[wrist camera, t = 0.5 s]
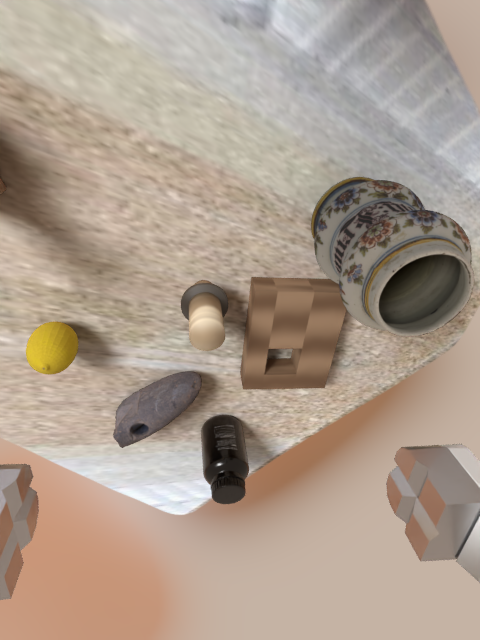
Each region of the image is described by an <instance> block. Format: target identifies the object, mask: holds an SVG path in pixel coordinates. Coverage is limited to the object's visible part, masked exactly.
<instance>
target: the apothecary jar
mask: <svg viewBox="0 0 480 640" xmlns="http://www.w3.org/2000/svg"><path fill="white" fill-rule="evenodd" d="M311 230H312V235H313V238H315V243H314V245H315V255H316V259H317V262H318V264H319V266H320V268H321V269H322V271H323V272H324V273H325V275H326V276H327V277H329V278H330V279H331V280H333V281H334V282H336V283H338V284H339V290H340V295H341V299H342V301H343V304H344V306H345V308H346V309H347V311H348V312H349V313H350V314H351V315H352V316H353V317H354V318H355V319H356V320H357V321H359V322H360V323H362V324H364V325H366V326H368V327H370V328H373V329H377V330H383V331H388V332H390V333H392V334H395V335H398V336H404V337H414V336H420V335H424V334H427V333H430V332H433V331H435V330H437V329H438V328H440V327H442V326H444V325H445V324H446V323H448V322H449V321H451V320H452V319H453V318H454V317H456V316H457V315H458V314H459V313H460V312H461V310H462V309H463V308H464V307H465V305H466V304H467V302H468V301H469V299H470V296H471V293H472V290H473V285H474V273H473V269H472V267H471V259H472V254H471V246H470V242H469V240H468V237H467V235H466V234H465V232H464V230H463V229H462V228H461V227H460V226H459V225H458V224H457V223H456V222H455V221H454V220H452V219H451V218H449V217H447V216H445V215H443V214H440V213H437V212H434V211H428V210H425V209H424V207H423V205H422V203H421V201H420V199H419V198H418V197H417V196H416V195H415V194H414V193H413V192H412V191H411V190H410V189H408V188H407V187H405V186H403V185H401V184H398V183H395V182H391V181H385V180H373V179H370V178H365V177H355V178H349V179H346V180H343V181H341V182H339V183H337V184H336V185H334V186H333V187H331V188H330V189H329V190H328V191H327V192H326V193H325V194H324V195H323V196H322V197H321V199H320V200H319V202H318V203H317V205H316V207H315V209H314V212H313V215H312V221H311Z"/></svg>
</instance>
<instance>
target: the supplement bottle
mask: <svg viewBox="0 0 480 640" xmlns="http://www.w3.org/2000/svg"><path fill="white" fill-rule="evenodd" d="M201 441H202V459H203V474H204V478H205V480H206V481H207V482H208V483H209V484H210V485H211V491H212V498H213V500H214V501H215V502H217V503H221V504H231V503H235V502H238V501H240V500H241V499H242V498H243V497H244V496H245V479H246V477H247V475H248V473H249V465H248V459H247V452H246V446H245V440H244V434H243V428H242V425H241V423H240V421H239V420H238V419H236V418H235V417H232V416H228V415H219V416H215V417H212V418H210V419H209V420H207V421H206V422H205V423H204V425H203V426H202V429H201Z"/></svg>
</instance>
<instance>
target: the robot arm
mask: <svg viewBox="0 0 480 640" xmlns="http://www.w3.org/2000/svg"><path fill="white" fill-rule="evenodd" d="M394 460H395V462H396V463H397V465H398V466H397V467H396V468H395V469H393V470H392V471H391V472H390V473H389V476H388V479H387V483H386V485H387V496H388V499H389V503H390V505H391V507H392V509H393V511H394V513H395V515H396V516H398V517H399V518H400V519H402V520H403V521H404V522H405V523H406V529H405V534H406V536H407V537H408V539H409V541H410V543H411V545H412V547H413V549H414V550H415V552H416V554H417V556H418V558H419V560H420V561H433V560H450V559H457V560H456V562H458V563H459V564H460V565H461V566H462V567H463V568H464V569H465V570H466V571H467V572H469V573H470V574H471V575H472V576H473V577H474V578H475V579H476V580H477V581H479V582H480V461H479V460H478V459H477V458H476V457H475V455H474V454H473V453H472V452H471V451H470V450H469V449H468V448H467V447H466V446H464V445H462V444H453V445H440V446H439V445H432V446H414V447H401V448H400V449H399V450H398V451H397V453H396V455H395V458H394ZM32 478H33V474H32V471H31V467H30V465H27V464H8V465H7V464H6V465H5V464H4V465H0V600H3V599H11V597H12V594H13V591H14V588H15V586H16V582H17V580H18V577H19V574H20V571H21V569H22V566H23V563H24V562H23V558H22V555H21V550H22V549H23V548H24V547H25V546H26V545H27V544H28V543H29V542H30V541H31V540H32V537H33V534H34V531H35V528H36V524H37V517H38V511H39V510H38V496H37V492H36V491H35V490H33V489H32V488H31V487H29V486H30V483H31V481H32Z"/></svg>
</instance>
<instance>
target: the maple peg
mask: <svg viewBox="0 0 480 640" xmlns="http://www.w3.org/2000/svg"><path fill="white" fill-rule="evenodd" d="M181 309H182V313H183V314H184V316H185V317H186V318H187V319H188V320H189V338H190V342H191V344H192V345H193V346H194V347H195V348H197V349H199V350H202V351H211V350H214V349H217V348H218V347H220V346H221V345H222V344H223V342H224V340H225V330H224V324H223V317H224V316H225V314H226V312H227V309H228V299H227V296H226V294H225V292H224V291H223V290H222V289H221V288H220V287H218V286H217V285H214V284H212V283H211V282H209V281H206V280H201V281H198V282H197V283H195V284H194V285H193V286H191V287H190V288H188V289H187V290H186V291H185V293H184V294H183V296H182V299H181Z"/></svg>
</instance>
